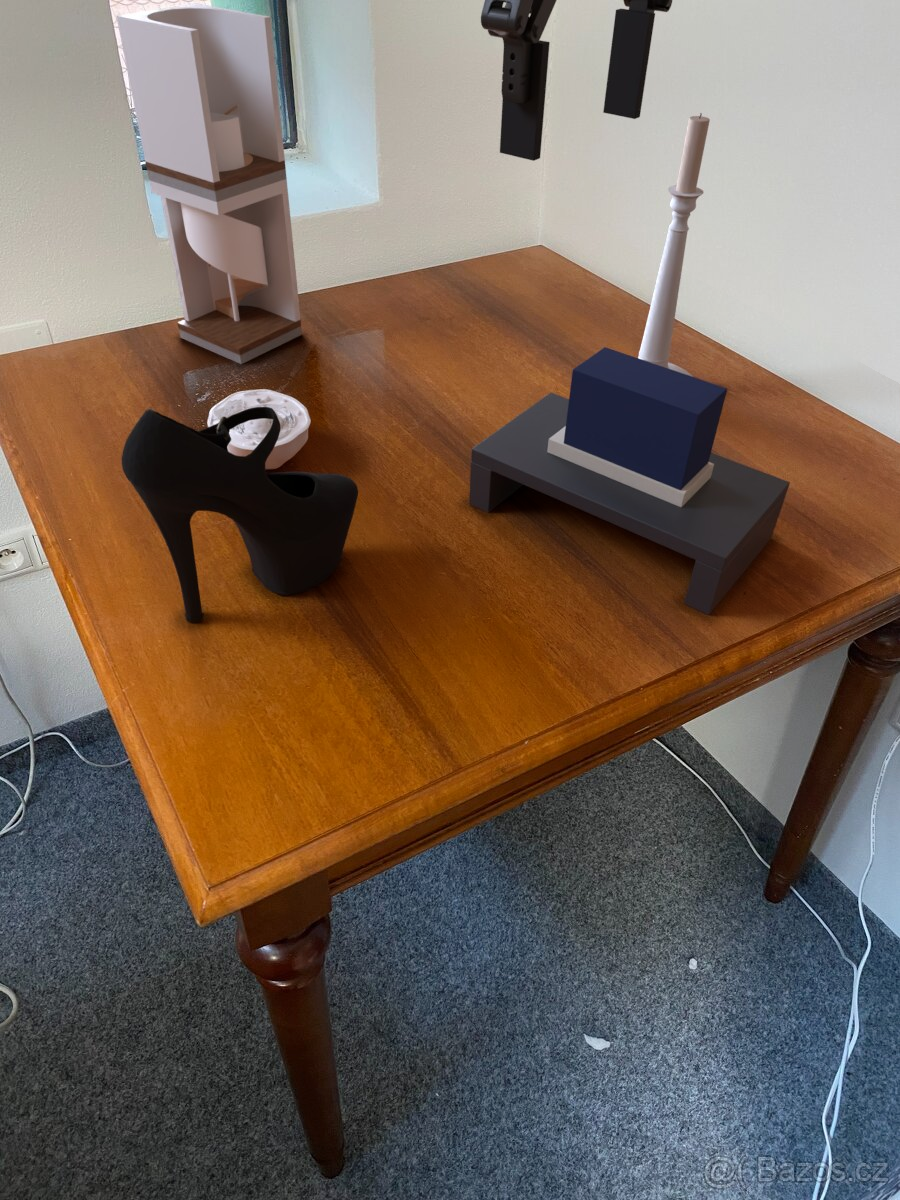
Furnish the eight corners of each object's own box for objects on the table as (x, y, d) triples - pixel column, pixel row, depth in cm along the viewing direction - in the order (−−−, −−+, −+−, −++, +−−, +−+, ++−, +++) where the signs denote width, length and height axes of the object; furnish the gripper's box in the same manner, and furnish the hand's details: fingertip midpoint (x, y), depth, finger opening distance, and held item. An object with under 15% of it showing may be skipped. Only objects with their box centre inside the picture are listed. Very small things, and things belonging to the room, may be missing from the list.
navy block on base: (710, 477, 80) (734, 389, 74) (681, 507, 77) (703, 417, 71) (580, 426, 86) (591, 341, 80) (547, 452, 83) (556, 365, 77)
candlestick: (590, 363, 110) (628, 94, 90) (693, 367, 110) (754, 99, 90) (597, 415, 101) (641, 128, 80) (709, 421, 100) (781, 133, 80)
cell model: (296, 420, 99) (289, 365, 94) (325, 478, 90) (319, 420, 86) (205, 437, 96) (194, 381, 91) (226, 498, 87) (216, 439, 83)
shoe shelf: (771, 537, 84) (790, 481, 80) (708, 615, 76) (726, 558, 72) (545, 445, 96) (550, 391, 91) (468, 504, 87) (471, 448, 83)
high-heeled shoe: (378, 562, 80) (368, 362, 67) (190, 656, 71) (135, 446, 58) (329, 521, 85) (310, 326, 71) (146, 605, 76) (85, 398, 62)
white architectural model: (180, 337, 113) (116, 15, 90) (241, 310, 119) (197, 3, 96) (241, 364, 108) (190, 30, 85) (302, 334, 114) (270, 16, 91)
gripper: (663, -280, 56) (615, 92, 71) (420, -317, 42) (421, 163, 56) (774, -282, 53) (700, 109, 67) (553, -324, 38) (518, 189, 53)
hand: (573, 134), depth 62 cm, fingers open, 13 cm apart
